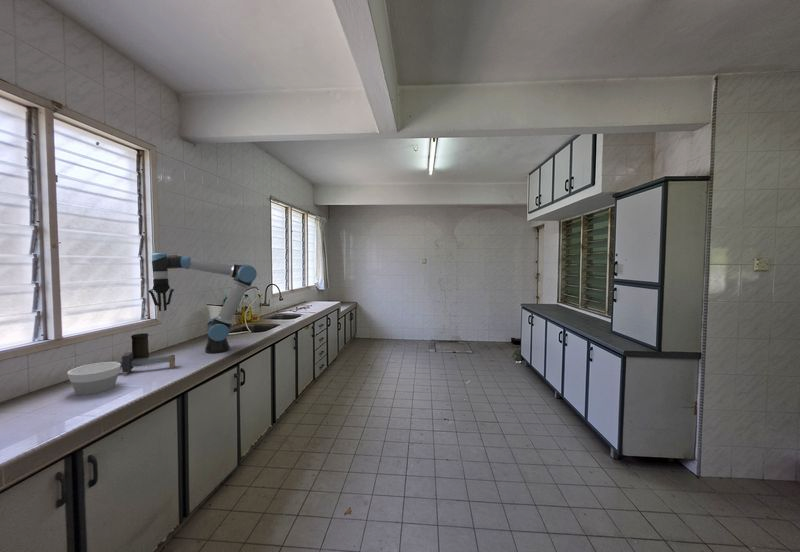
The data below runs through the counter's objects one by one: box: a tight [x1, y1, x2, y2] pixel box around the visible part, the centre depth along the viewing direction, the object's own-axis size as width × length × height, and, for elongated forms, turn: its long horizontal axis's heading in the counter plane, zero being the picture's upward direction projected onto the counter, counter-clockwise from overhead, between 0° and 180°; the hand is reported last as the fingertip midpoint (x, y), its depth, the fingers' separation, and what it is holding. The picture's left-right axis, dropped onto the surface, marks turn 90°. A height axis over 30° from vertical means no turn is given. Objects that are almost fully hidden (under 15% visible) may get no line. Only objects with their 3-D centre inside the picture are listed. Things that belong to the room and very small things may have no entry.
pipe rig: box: [109, 354, 176, 376], centre depth 185 cm, size 30×9×7 cm, turn 117°
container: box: [130, 333, 150, 367], centre depth 198 cm, size 9×9×18 cm
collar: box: [121, 351, 134, 373], centre depth 182 cm, size 3×8×9 cm, turn 27°
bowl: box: [67, 361, 121, 396], centre depth 159 cm, size 19×19×11 cm
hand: (163, 316), depth 200 cm, fingers closed
